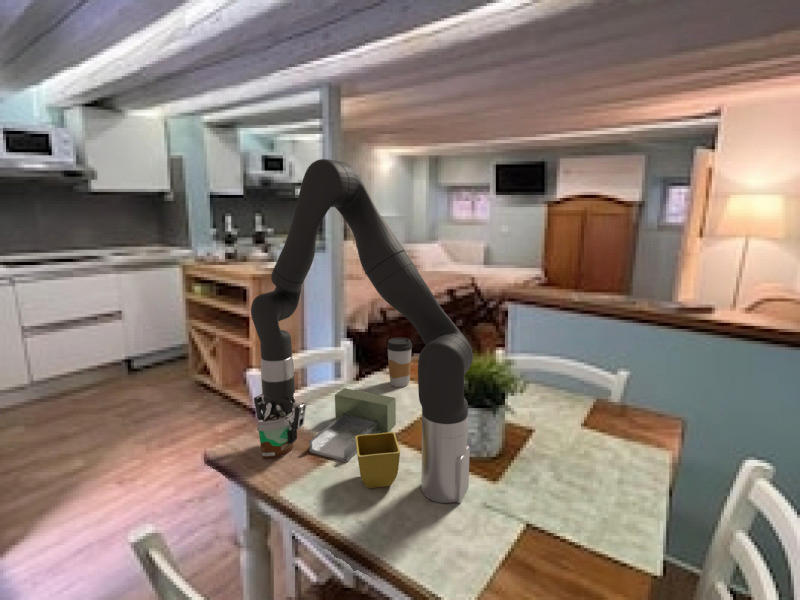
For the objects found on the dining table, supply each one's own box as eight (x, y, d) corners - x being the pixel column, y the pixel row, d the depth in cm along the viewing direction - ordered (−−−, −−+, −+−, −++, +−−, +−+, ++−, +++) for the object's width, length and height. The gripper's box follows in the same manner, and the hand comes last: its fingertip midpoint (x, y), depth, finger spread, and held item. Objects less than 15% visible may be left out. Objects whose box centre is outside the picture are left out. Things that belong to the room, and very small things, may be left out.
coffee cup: (417, 383, 149) (417, 340, 146) (400, 390, 143) (400, 346, 140) (399, 377, 155) (399, 335, 152) (382, 384, 149) (381, 341, 146)
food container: (283, 465, 102) (280, 425, 100) (259, 462, 104) (256, 422, 102) (306, 438, 114) (304, 402, 112) (284, 435, 115) (282, 400, 113)
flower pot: (358, 495, 91) (357, 456, 90) (356, 471, 100) (354, 434, 98) (400, 491, 93) (400, 452, 91) (394, 467, 101) (394, 431, 99)
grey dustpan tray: (395, 425, 121) (395, 397, 119) (357, 465, 102) (356, 433, 101) (345, 414, 127) (344, 388, 126) (300, 449, 109) (298, 419, 107)
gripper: (312, 374, 106) (314, 438, 109) (264, 364, 111) (268, 426, 115) (292, 385, 99) (295, 454, 102) (242, 375, 105) (247, 440, 108)
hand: (281, 439), depth 109 cm, fingers closed on food container, 5 cm apart
